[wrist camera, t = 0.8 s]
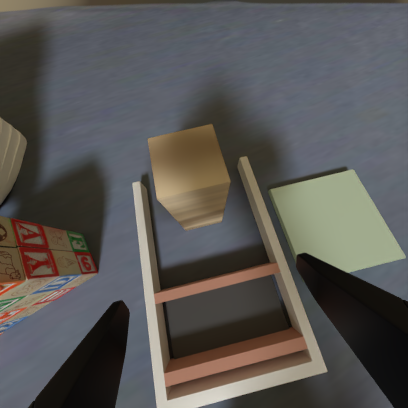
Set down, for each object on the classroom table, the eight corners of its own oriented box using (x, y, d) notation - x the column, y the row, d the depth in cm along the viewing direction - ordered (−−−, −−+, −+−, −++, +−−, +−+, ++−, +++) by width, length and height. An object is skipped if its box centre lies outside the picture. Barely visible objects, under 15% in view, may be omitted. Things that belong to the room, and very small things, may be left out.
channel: (312, 356, 18) (327, 371, 16) (165, 396, 18) (158, 418, 15) (243, 165, 26) (246, 156, 23) (140, 190, 25) (132, 183, 23)
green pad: (397, 257, 21) (406, 257, 20) (303, 282, 20) (307, 283, 19) (347, 172, 24) (353, 169, 23) (267, 192, 24) (270, 189, 23)
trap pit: (295, 337, 19) (308, 348, 16) (171, 370, 18) (165, 386, 16) (270, 262, 21) (277, 262, 19) (160, 290, 21) (153, 294, 18)
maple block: (221, 221, 23) (230, 181, 11) (185, 230, 23) (157, 199, 11) (212, 189, 25) (212, 123, 13) (179, 197, 25) (147, 138, 13)
